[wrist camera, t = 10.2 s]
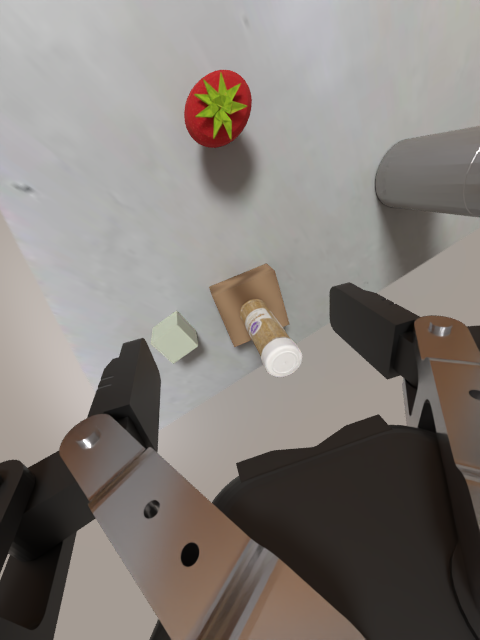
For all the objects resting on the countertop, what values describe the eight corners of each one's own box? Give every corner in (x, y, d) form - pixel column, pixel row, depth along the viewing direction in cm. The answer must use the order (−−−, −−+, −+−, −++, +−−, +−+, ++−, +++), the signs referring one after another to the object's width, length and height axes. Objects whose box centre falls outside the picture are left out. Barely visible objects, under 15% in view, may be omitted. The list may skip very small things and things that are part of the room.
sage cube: (176, 310, 42) (177, 324, 38) (195, 330, 45) (198, 346, 40) (152, 327, 43) (150, 343, 38) (173, 346, 45) (173, 363, 41)
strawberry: (249, 127, 33) (276, 108, 24) (201, 164, 34) (211, 158, 25) (223, 73, 30) (243, 29, 21) (171, 114, 31) (170, 88, 22)
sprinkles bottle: (244, 295, 39) (275, 343, 28) (271, 301, 41) (310, 349, 29) (235, 321, 41) (259, 376, 29) (261, 326, 42) (294, 381, 31)
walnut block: (266, 263, 42) (274, 270, 38) (280, 313, 47) (289, 324, 44) (209, 286, 42) (212, 296, 38) (229, 334, 47) (234, 347, 43)
